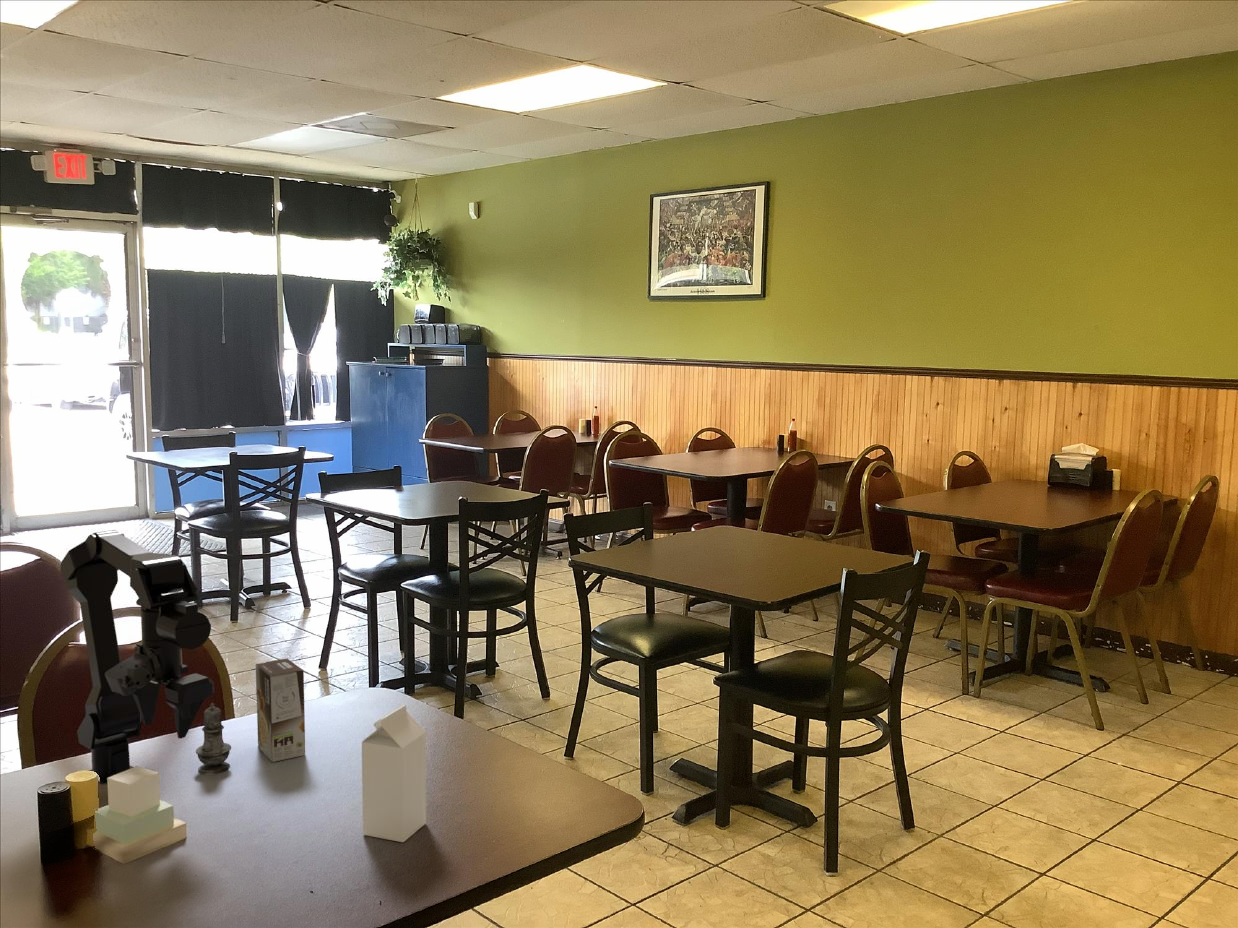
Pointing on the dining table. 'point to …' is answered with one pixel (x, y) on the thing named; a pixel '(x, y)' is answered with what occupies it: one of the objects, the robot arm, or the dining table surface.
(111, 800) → the cream block
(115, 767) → the robot arm
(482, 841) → the dining table surface
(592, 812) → the dining table surface
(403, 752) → the milk carton
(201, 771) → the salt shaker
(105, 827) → the sage slab
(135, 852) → the maple slab
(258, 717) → the coffee box
